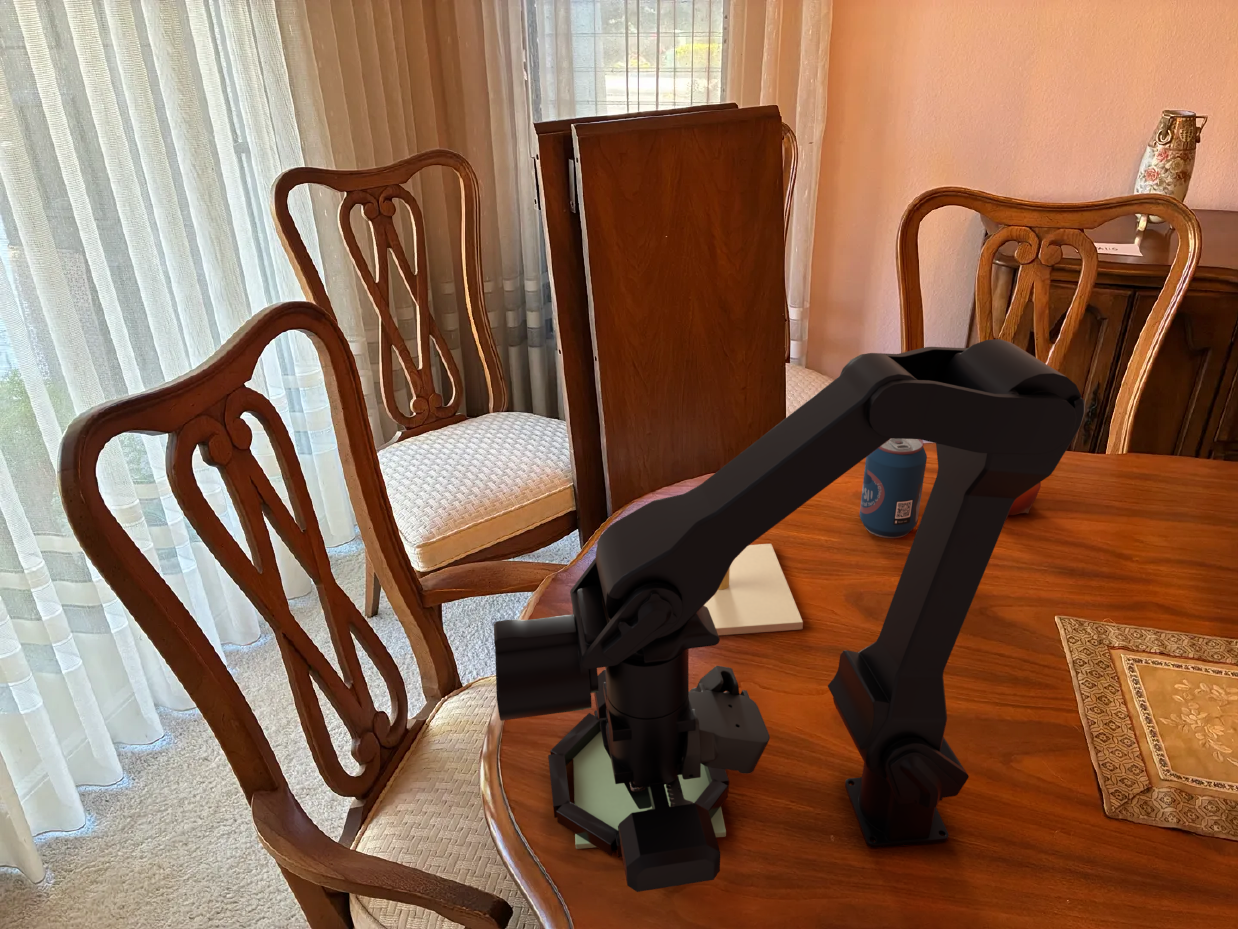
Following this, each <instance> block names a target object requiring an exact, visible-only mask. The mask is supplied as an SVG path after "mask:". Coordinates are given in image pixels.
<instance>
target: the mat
mask: <svg viewBox="0 0 1238 929" xmlns="http://www.w3.org/2000/svg"><path fill="white" fill-rule="evenodd" d="M572 762H573V763H572V764H573V766H572V767H573V798H574V799H573V800H574V801H573V804H575V805H577V806H578V807H580V808H582V809H583V810H585V811H587V812H588V813H590V814H592V815H593V816H595V817H597V818H598V819H600V820H602V821H603V822H605V823H607V824H608V825H610V826H611V827H613V828H615V829H616V830H618V826H619V823H621V822H622V821H623V820H624V819H625V818H626V817H627V816H629V815H630V814H631V813H633V812H640V811H646V810H648V809H652V806H651V807H650V808H646V809H639V808H638V807H637V805H636V804H635V802H634V800H633V799H632V797H631V795H630V793H629V792H628V790H627V788H626V786H625V784H624V783H621V784H615V779H614V773H613V768H612V762H611V759H610V757H609V755H608V753H607V751H606V750H605V748H604V745H603V739H602V733H601V732H599V733H598V734H597V735H596V736H595V737H594V738H593V739H592V740H591V741H590V742H589V743H588V744H587V745H586V746H585V747H584V748H583V749H582V750H581V751H580V752H579V753H578V754H577V755H576V756H575V757H574V758H573V759H572ZM678 777H679V781H680V785H681V788H682V792H683V796H684V799H685V800H689V801H692V802H693V803H695V801H696V800H697V799H698V798H699V796H700V795H701V794H702V792H703V791H704V790H705V789H706V787H707V786H708V785H709V781H708V778H707V774H706V771H705V768H704V765H702V764H701V777H700V778H693V779H686V780H684V779H683V777H682V775H678ZM664 786H665V790H666V794H667V798H668V803H669V806H671V805H670V801H669V797H668V793H667V788H666V784H665V785H664ZM711 822H712V825H713V829H714V832H715V835H716V838H724V837H725V838H726V837H727V830H726V825H725V820H724V815H723V811H722V806H721V807H720V808H719V809H718V811H717V812H716V813H715V815H714V816H713V817H712V819H711ZM574 837H575V838H574V840H575V849H576V850H580V849H581V850H582V849H592V848H597V847H596V846H594V845H593V844H591V843H589V842H588V841H586V840H585V839H583V838H581V837H580V836H578V835H577V834H575V833H574Z"/></svg>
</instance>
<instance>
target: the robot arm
mask: <svg viewBox="0 0 1238 929" xmlns="http://www.w3.org/2000/svg"><path fill="white" fill-rule="evenodd" d="M1085 413H1086V400H1085V399H1084V398H1082V394H1081V392H1080V390H1079V387H1078V386H1077V384H1076V383H1075V382H1073V381H1072V380H1071V379H1070V378H1069V377H1068V376H1066V375H1064V374H1063V373H1061V372H1060V371H1059V370H1057V369H1055V368H1053V367H1052V366H1050V365H1048V364H1046V363H1045V362H1043V361H1041V359H1038V358H1037V357H1035V356H1034V355H1032V354H1031V353H1029V352H1027V351H1026V350H1024V349H1022V348H1021V347H1020V346H1018V345H1016V344H1014V343H1013V342H1010V341H1008V340H1004V339H1001V338H995V339H985V340H983V341H980V342H979V341H978V342H976V343H974V344H971V346H969V347H952V346H951V347H950V346H949V347H948V346H925V347H921V348H917V349H916V348H915V349H913V350H912V349H911V350H908V351H904V352H900V353H884V352H883V353H881V352H869V353H861V354H859V355H857V356H855V357H853V358H852V359H850V360H849V361H848V362H847V363H846V364H845V365H844V367H842V370H841V371H840V374H839V376H837V378H835V379H834V380H832V381H831V382H830V383H829V384H828V385H826V386H825V387H824V388H823V389H821V390H819V392H817V393H816V394H814V395H813V396H812V397H811V398H810V399H808V400H807V401H806V402H804V403H803V404H802V405H800V406H799V407H798V408H797V409H796V410H794V411H793V412H792V413H791V414H789V415H788V416H786V417H785V418H784V419H782V420H781V421H780V422H779V423H778V424H776V425H775V426H774V427H772V428H771V429H770V430H768V432H766V433H764V434H763V435H762V436H761V437H760V438H759V439H757V440H756V441H754V442H753V443H752V444H750V446H748V447H747V448H745V449H744V450H743V451H741V452H740V453H739V454H738V455H737V456H735V457H734V458H733V459H731V460H730V461H729V462H728V463H726V464H725V465H723V466H722V467H721V468H720V469H719V470H717V471H716V472H714V474H712V475H711V476H710V477H708V478H707V479H706V480H705V481H703V482H702V483H701V484H698V485H697V486H695V487H694V488H691V489H689V490H688V491H687V492H684V493H681V494H678V495H673V496H667V497H663V498H659V499H654V500H652V501H650V502H648V503H646V504H645V505H642V506H641V507H639V508H637V509H635V510H634V511H632V512H630V513H628V514H627V515H625V516H623V517H621V518H619V519H618V520H616V521H614V522H613V523H612V524H610V525H609V526H608V527H607V528H606V529H605V530H604V531H603V532H602V533H601V535H600V536H599V538H598V540H597V542H596V550H595V558H594V559H593V560H592V561H591V563H590V564H589V565H588V567H587V568H586V569H585V571H584V572H583V573H582V574H581V576H580V577H579V578H578V580H577V581H576V582H575V583H574V585H572V586H573V587H572V588H571V589H570V591H569V595H570V601H571V606H572V607H571V608H572V614H565V615H556V616H548V617H541V618H533V619H517V618H516V619H515V618H514V619H504V620H497V621H495V622H494V623H493V642H494V654H495V655H494V656H495V657H494V658H495V688H496V691H495V692H496V693H495V694H496V704H497V712H498V717H499V720H500V722H502V721H509V720H511V721H512V720H518V719H525V718H532V717H541V716H545V715H546V716H548V715H555V714H562V713H569V712H576V711H584V710H588V709H592V694H593V695H594V702H595V707H596V710H597V714H598V719H600V718H604V719H602V720H601V722H600V728H601V733H602V739H603V745H604V748H605V750H606V751H607V753H608V755H609V757H610V759H611V762H612V768H613V773H614V779H615V784H621V783H624V784H625V786H626V788H627V790H628V792H629V793H630V795H631V797H632V799H633V800H634V802H635V804H636V805H637V807H638V808H639V809H646V808H650V807H651V806H652V809H648V810H646V811H640V812H633V813H631V814H630V815H629V816H627V817H626V818H625V819H624V820H623V821H622V822H621V823H619V826H618V831H619V837H620V844H621V852H622V857H621V858H622V862H623V869H624V874H625V880H626V885H627V886H626V887H629V888H630V889H632V890H633V891H635V892H637V893H640V892H646V891H653V890H658V889H665V888H671V887H677V886H683V885H691V884H697V883H702V882H708V881H715V879H716V878H717V876H718V874H719V873H720V872H721V850H720V846H719V843H718V839H717V837H716V835H715V832H714V829H713V825H712V822H711V818H710V815H709V811H708V810H706V809H705V808H703V807H701V806H699V805H698V804H696V803H693V802H692V801H689V800H685V799H684V796H683V792H682V788H681V785H680V781H679V777H678V775H682V777H683V779H684V780H686V779H693V778H700V777H701V764H702V765H704V766H706V767H711V768H719V769H725V770H726V771H727V770H729V771H736V772H738V773H739V774H745V775H749V774H752V773H753V772H754V771H755V769H756V768H757V765H758V763H759V762H760V759H761V757H762V755H763V753H764V752H765V749H766V747H767V745H768V743H769V741H770V740H771V739H770V738H771V737H770V732H769V731H768V729H767V726H766V723H765V721H764V718H763V716H762V713H761V711H760V708H759V706H758V704H757V703H756V701H754V700H753V699H752V698H751V697H750V695H749V692H748V690H746V689H742V690H741V692H740V688H739V683H738V680H737V677H736V675H735V672H734V669H733V668H731V667H728V666H722V665H715V666H714V667H712V669H710V670H709V672H707V673H706V674H704V675H703V676H702V677H701V678H700V679H699V681H698V683H697V685H696V687H693V688H691V689H690V690H689V687H690V685H689V682H690V681H689V680H690V678H689V670H690V669H689V665H690V662H689V655H690V654H689V651H690V650H691V649H698V648H704V647H713V646H717V645H718V644H719V643H720V640H721V639H720V635H718V633H717V630H716V628H715V625H714V623H713V620H712V618H711V615H710V612H709V610H708V608H707V607H706V606H704V605H705V604H706V603H707V602H708V601H709V600H710V599H711V598H712V597H713V596H714V595H715V593H716V592H717V590H718V588H719V587H720V585H721V583H722V581H723V579H724V577H725V575H726V573H727V571H728V569H729V568H730V566H731V564H732V562H733V561H734V559H735V558H736V557H737V556H738V555H739V554H740V553H741V552H742V551H743V550H744V549H745V548H746V547H747V546H749V545H752V544H753V543H754V542H756V541H757V540H758V539H759V538H761V537H762V536H763V535H765V534H766V533H767V532H769V531H770V530H772V529H773V528H774V527H775V526H777V525H778V524H779V523H781V522H782V521H783V520H785V519H786V518H788V517H789V516H790V515H791V514H793V513H794V512H795V511H797V510H798V509H799V508H800V507H802V506H803V505H805V504H806V503H807V502H808V501H810V500H811V499H813V498H814V497H815V496H816V495H818V494H820V493H821V492H822V491H823V490H825V489H826V488H827V487H829V486H830V485H831V484H832V483H834V482H835V481H837V480H838V479H839V478H841V477H842V476H843V475H844V474H846V473H848V472H849V471H850V470H852V468H854V467H855V466H856V465H858V464H859V463H861V462H862V461H863V460H865V459H866V457H867V456H868V455H870V454H871V453H872V452H874V451H875V450H876V449H878V448H879V447H880V446H882V445H883V444H884V443H886V442H887V441H888V440H890V439H891V438H894V439H920V440H923V441H925V442H929V443H934V444H935V447H936V449H935V450H936V457H937V472H936V476H935V480H934V483H933V486H932V487H931V488H932V489H931V491H930V494H929V497H928V499H927V502H926V505H925V507H924V510H923V513H922V516H921V519H920V521H919V524H918V527H917V530H916V533H915V536H914V538H913V541H912V544H911V547H910V550H909V552H908V554H907V556H906V557H907V558H906V561H905V563H904V566H903V569H902V571H901V574H900V577H899V580H898V582H897V585H896V587H895V591H894V594H893V597H892V599H891V602H890V605H889V607H888V610H887V613H886V616H885V618H884V621H883V624H882V627H881V629H880V631H879V632H880V633H879V635H878V637H877V639H876V640H875V641H874V642H872V643H870V644H869V645H867V646H866V647H864V648H862V649H861V650H859V651H854V650H853V651H852V650H847V649H845V650H842V652H840V654H839V660H838V667H837V671H836V673H835V675H834V677H833V678H832V680H831V681H830V682H829V683H828V684H827V688H828V690H829V692H830V694H831V696H832V700H833V704H834V706H835V709H836V711H837V712H838V714H839V717H840V719H841V720H842V722H843V724H844V726H845V728H846V730H847V732H848V734H849V736H850V738H851V740H852V742H853V743H854V745H855V747H856V750H857V751H858V753H859V756H860V757H861V758H862V761H863V766H862V774H861V777H849V778H847V779H845V780H844V788H845V790H846V793H847V796H848V798H849V801H850V803H851V808H852V809H853V812H854V815H855V817H856V819H857V820H856V821H857V823H858V825H859V828H860V831H861V833H862V836H863V838H864V842H865V844H866V845H867V846H868V847H869V848H872V849H879V848H890V847H902V846H903V847H904V846H915V845H926V844H927V845H928V844H938V843H939V844H940V843H945V842H947V841H948V839H949V834H950V833H949V832H948V830H947V827H946V825H945V824H944V821H943V819H942V817H941V815H940V813H939V810H938V808H937V806H938V804H939V802H940V801H943V799H944V798H950V797H951V798H952V797H956V796H958V795H959V794H960V792H961V790H962V789H963V787H964V786H965V784H966V783H967V781H968V780H969V776H970V775H969V774H968V772H967V771H966V769H965V767H964V766H963V765H962V763H961V761H960V760H959V758H958V757H957V755H956V754H955V752H954V750H953V749H952V747H951V746H950V744H949V743H948V741H947V740H946V738H945V731H946V726H947V723H948V710H947V700H946V690H945V680H944V673H945V669H946V666H947V665H948V662H949V659H950V657H951V655H952V652H953V650H954V647H955V645H956V643H957V639H958V637H959V635H960V632H961V630H962V627H963V625H964V623H965V621H966V618H967V616H968V613H969V611H970V608H971V606H972V604H973V601H974V598H975V596H976V593H977V591H978V589H979V586H980V584H981V582H982V579H983V577H984V574H985V572H986V570H987V567H988V565H989V562H990V560H991V558H992V555H993V552H994V551H995V548H996V546H997V543H998V540H999V538H1000V536H1001V533H1002V531H1003V528H1004V525H1005V524H1006V522H1007V519H1008V516H1009V515H1008V514H1009V511H1010V509H1011V506H1012V504H1013V503H1014V501H1015V499H1016V498H1018V497H1019V496H1021V495H1022V494H1024V493H1025V492H1027V491H1028V490H1029V489H1031V488H1032V487H1034V486H1035V485H1037V484H1038V483H1040V482H1041V483H1042V482H1043V481H1044V480H1046V479H1047V478H1049V477H1050V476H1052V474H1053V473H1054V471H1055V469H1056V468H1057V466H1058V464H1059V463H1060V461H1061V460H1062V458H1063V456H1064V455H1065V453H1066V452H1067V450H1068V448H1069V447H1070V445H1071V443H1072V442H1073V440H1074V439H1075V437H1076V435H1077V434H1078V432H1079V431H1080V428H1081V427H1082V424H1083V420H1084V417H1085ZM600 668H605V669H603V670H601V672H600V673H599V674H598V669H600ZM606 711H607V716H608V717H607V718H606ZM665 784H666V788H667V793H668V797H669V801H670V805H671V806H669V803H668V798H667V794H666V790H665V786H664V785H665Z"/></svg>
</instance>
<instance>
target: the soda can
mask: <svg viewBox="0 0 1238 929" xmlns="http://www.w3.org/2000/svg"><path fill="white" fill-rule="evenodd" d="M924 444H925V443H924V440H920V439H894V438H891V439H890V440H888V441H887V442H886V443H884V444H883V445H882V446H880V447H879V448H878V449H876V450H875V451H874V452H872V453H871V454H870V455H868V456H867V457H866V458H865V462H864V471H863V480H862V490H861V496H860V505H859V506H860V507H859V518H860V520H861V523H862V524H863V526H864V529H866V530H867V531H868V532H869V533H870V534H872V535H874V536H876V537H880V538H884V539H900V538H903V537H905V536H907V535H908V534H910V532H911V531H913V530H914V528H916V526H917V524H918V521H919V514H920V508H921V502H922V501H921V500H922V494H923V488H924V487H923V486H924V481H925V474H926V467H927V459H928V455H927V452H926V450H925V448H924V446H925V445H924Z"/></svg>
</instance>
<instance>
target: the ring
mask: <svg viewBox="0 0 1238 929" xmlns="http://www.w3.org/2000/svg"><path fill="white" fill-rule="evenodd" d="M607 717H608V716H607V711H606V718H607ZM602 719H604V718H600V719H598V714H597V709H596V710H593V713H591V712H588V713H587V714H586V715H585V716H584V717H583V718H582V719H581V720H580V721H579V722H578V723H577V724H576V725H575V726H573V728H572V729H571V730H570V731H569V732H568V733H566V734H565V735H564V736H563V737H562V738H561V740H559V741H558V742H557V743H556V744H555V745H554V746H553V747H552V748H551V749H550V750H549V752H550V754H548V756H547V757H548V758H547V759H548V769H549V776H550V778H549V779H550V788H551V798H552V799H551V800H552V806H553V807H552V810H553V817H554V819H556V820H557V823H558V824H559V825H561V826H562V827H564V828H565V829H567V830H569V831H570V832H571V833H573V834H574V835H575V834H577V835H578V836H580V837H581V838H583V839H585V840H586V841H588V842H589V843H591V844H593V845H594V846H596V847H595V848H597V849H599V850H601V851H602V852H603V853H605V854H607V855H609V856H610V857H612V856H613V855H614V854H615V852H616V855H617V856H616V857H617V858H622V852H621V844H620V837H619V831H618V830H616V829H615V828H613V827H611V826H610V825H608V824H607V823H605V822H603V821H602V820H600V819H598V818H597V817H595V816H593V815H592V814H590V813H588V812H587V811H585V810H583V809H582V808H580V807H578V806H577V805H575V804H574V802H572V801H571V797H570V789H569V781H568V773H567V766H568V764H570V763H571V762H572V761H573V758H574V757H575V756H576V755H577V754H578V753H579V752H580V751H581V750H582V749H583V748H584V747H585V746H586V745H587V744H588V743H589V742H590V741H591V740H592V739H593V738H594V737H595V736H596V735H597V734H598V733H599V732H601V728H600V722H601V720H602ZM704 768H705V771H706V774H707V778H708V781H709V785H708V786H707V787H706V789H705V790H704V791H703V792H702V794H701V795H700V796H699V798H698V799H697V800H696V801H695V803H696V804H698V805H699V806H701V807H703V808H705V809H706V810H708V811H709V815H710V818H711V819H712V817H713V816H714V815H715V813H716V812H717V811H718V809H719V808H720V807H721V808H722V806H723V805H724V803H725V802H726V800H727V799H728V797H729V791H730V790H729V789H730V778H729V776H728V773H727V769H719V768H711V767H706V766H704Z"/></svg>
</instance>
